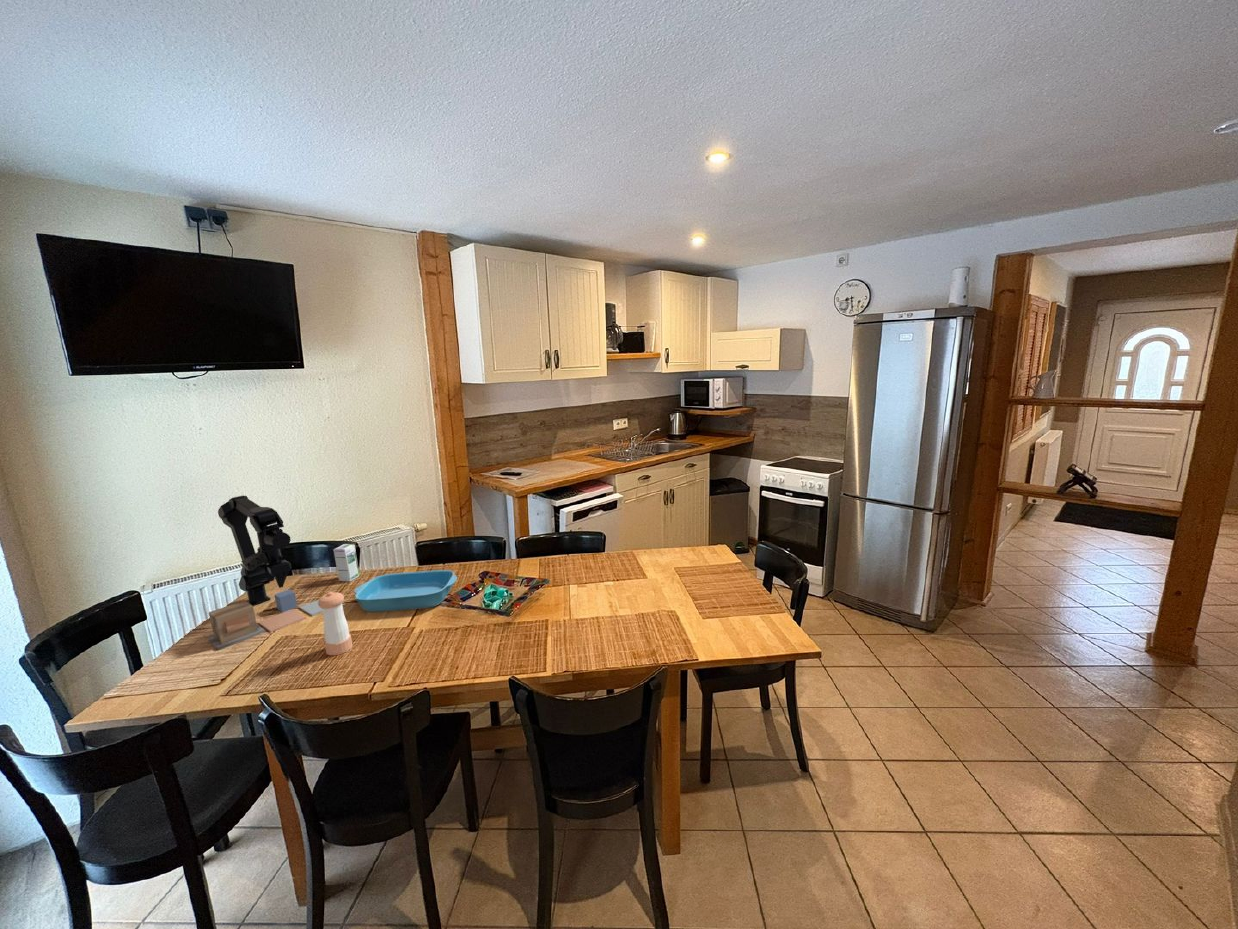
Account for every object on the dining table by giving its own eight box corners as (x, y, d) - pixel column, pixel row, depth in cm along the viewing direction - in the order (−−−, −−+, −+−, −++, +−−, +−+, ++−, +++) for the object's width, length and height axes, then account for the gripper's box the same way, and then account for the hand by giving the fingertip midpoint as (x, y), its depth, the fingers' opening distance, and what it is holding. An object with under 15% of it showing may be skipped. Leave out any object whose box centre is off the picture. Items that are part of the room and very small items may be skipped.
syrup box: (350, 581, 206) (345, 549, 203) (338, 581, 207) (333, 548, 204) (360, 576, 212) (355, 544, 209) (348, 575, 213) (343, 543, 210)
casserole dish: (345, 618, 176) (341, 600, 174) (371, 590, 197) (369, 574, 196) (450, 611, 177) (447, 592, 176) (465, 584, 199) (463, 567, 198)
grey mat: (299, 608, 184) (299, 606, 184) (330, 596, 193) (330, 595, 193) (312, 616, 178) (311, 614, 178) (343, 603, 186) (343, 602, 186)
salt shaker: (334, 658, 151) (323, 600, 147) (321, 651, 154) (311, 594, 151) (357, 646, 157) (348, 590, 153) (344, 640, 160) (335, 585, 157)
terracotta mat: (259, 623, 174) (258, 622, 174) (293, 610, 183) (293, 609, 183) (270, 632, 168) (270, 630, 168) (306, 618, 176) (305, 617, 176)
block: (277, 609, 185) (274, 594, 183) (292, 603, 188) (289, 589, 187) (282, 612, 182) (279, 597, 180) (297, 607, 186) (294, 592, 184)
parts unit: (207, 640, 164) (201, 613, 163) (253, 623, 175) (248, 597, 173) (218, 650, 158) (211, 622, 156) (265, 632, 168) (259, 605, 166)
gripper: (233, 545, 177) (242, 585, 180) (250, 556, 165) (258, 599, 168) (270, 536, 185) (277, 575, 188) (288, 546, 174) (295, 587, 177)
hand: (276, 584), depth 180 cm, fingers open, 9 cm apart
